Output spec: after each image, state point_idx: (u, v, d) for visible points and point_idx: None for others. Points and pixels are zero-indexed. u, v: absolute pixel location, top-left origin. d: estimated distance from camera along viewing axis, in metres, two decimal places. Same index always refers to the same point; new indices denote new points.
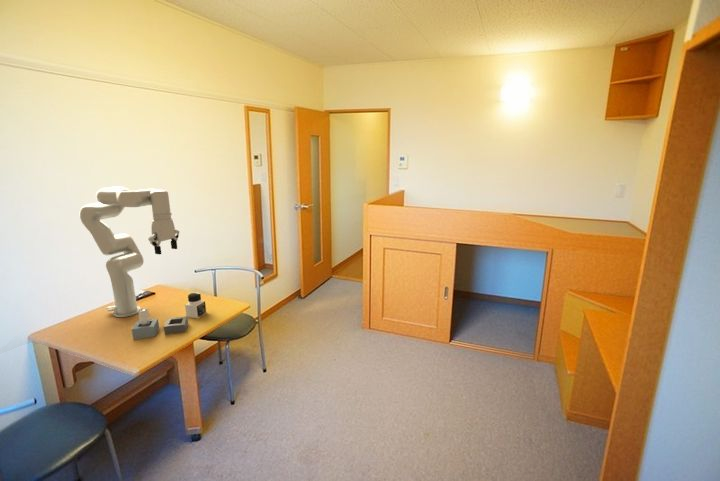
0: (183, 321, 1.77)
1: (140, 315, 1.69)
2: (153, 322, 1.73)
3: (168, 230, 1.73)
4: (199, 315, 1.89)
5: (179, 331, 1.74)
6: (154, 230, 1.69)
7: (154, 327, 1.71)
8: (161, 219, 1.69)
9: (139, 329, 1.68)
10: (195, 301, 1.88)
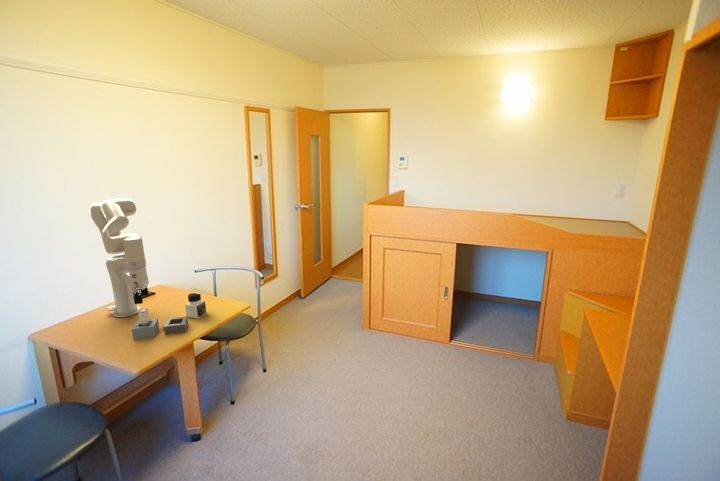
0: (183, 321, 1.77)
1: (140, 315, 1.69)
2: (153, 322, 1.73)
3: None
4: (199, 315, 1.89)
5: (179, 331, 1.74)
6: None
7: (154, 327, 1.71)
8: None
9: (139, 329, 1.68)
10: (195, 301, 1.88)
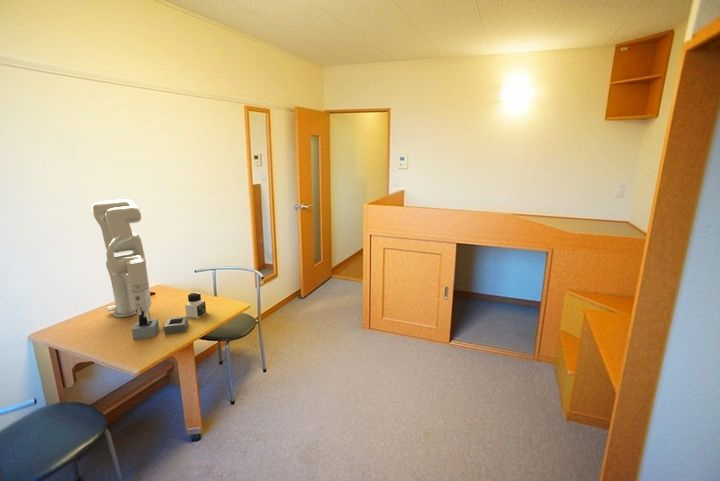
0: (183, 321, 1.77)
1: None
2: (153, 322, 1.73)
3: None
4: (199, 315, 1.89)
5: (179, 331, 1.74)
6: None
7: (154, 327, 1.71)
8: None
9: (139, 329, 1.68)
10: (195, 301, 1.88)
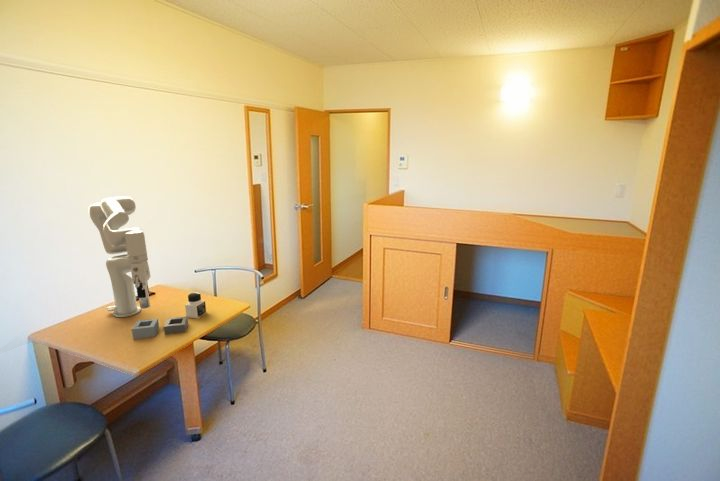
0: (183, 321, 1.77)
1: None
2: (153, 322, 1.73)
3: None
4: (199, 315, 1.89)
5: (179, 331, 1.74)
6: None
7: (154, 327, 1.71)
8: None
9: (139, 329, 1.68)
10: (195, 301, 1.88)
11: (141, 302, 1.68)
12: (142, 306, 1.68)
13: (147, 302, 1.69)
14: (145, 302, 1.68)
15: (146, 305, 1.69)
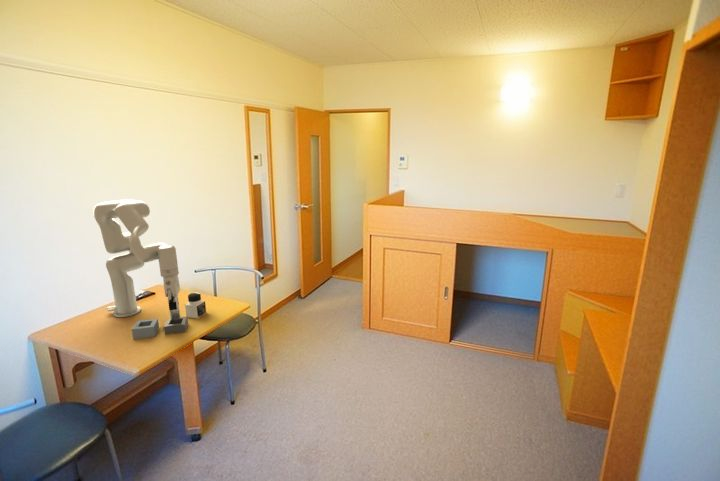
0: (183, 321, 1.77)
1: None
2: (153, 322, 1.73)
3: None
4: (199, 315, 1.89)
5: (179, 331, 1.74)
6: None
7: (154, 327, 1.71)
8: None
9: (139, 329, 1.68)
10: (195, 301, 1.88)
11: (172, 314, 1.74)
12: (173, 318, 1.74)
13: (178, 314, 1.75)
14: (176, 314, 1.74)
15: (176, 317, 1.75)
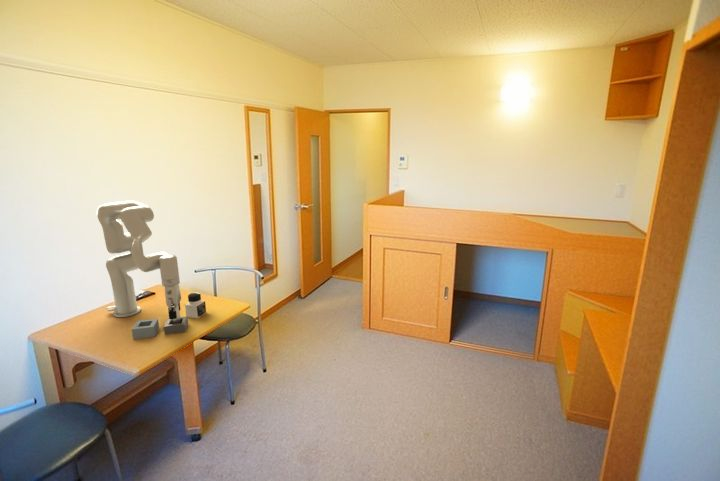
0: (183, 321, 1.77)
1: None
2: (153, 322, 1.73)
3: None
4: (199, 315, 1.89)
5: (179, 331, 1.74)
6: None
7: (154, 327, 1.71)
8: None
9: (139, 329, 1.68)
10: (195, 301, 1.88)
11: None
12: None
13: None
14: None
15: None
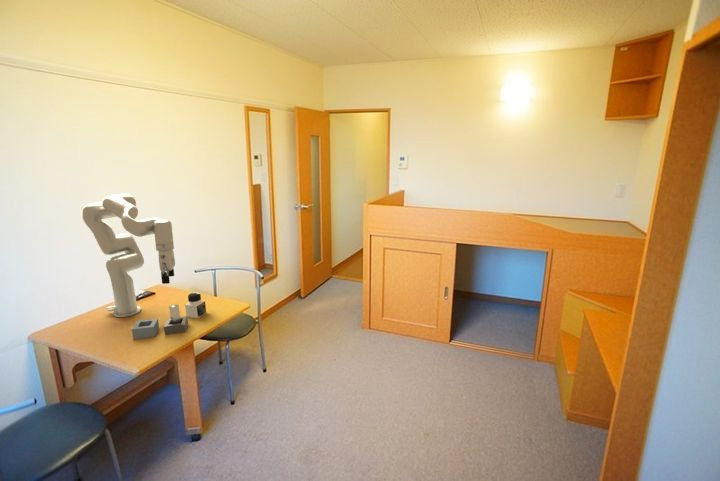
0: (183, 321, 1.77)
1: (171, 311, 1.73)
2: (153, 322, 1.73)
3: None
4: (199, 315, 1.89)
5: (179, 331, 1.74)
6: None
7: (154, 327, 1.71)
8: None
9: (139, 329, 1.68)
10: (195, 301, 1.88)
11: None
12: None
13: None
14: None
15: None
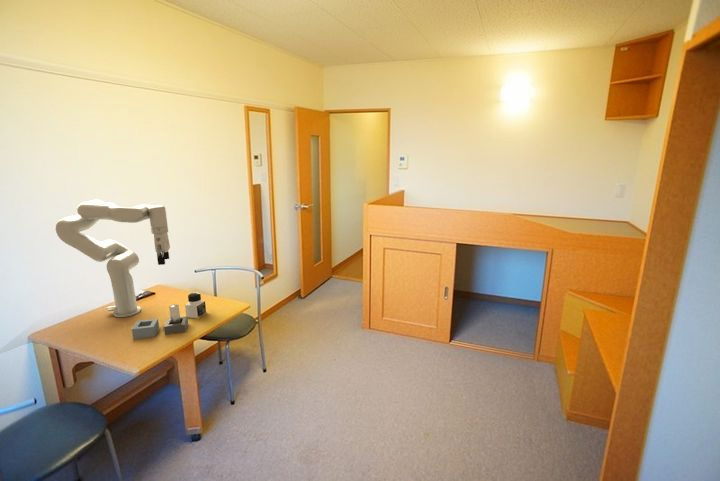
0: (183, 321, 1.77)
1: (171, 311, 1.73)
2: (153, 322, 1.73)
3: None
4: (199, 315, 1.89)
5: (179, 331, 1.74)
6: None
7: (154, 327, 1.71)
8: None
9: (139, 329, 1.68)
10: (195, 301, 1.88)
11: None
12: None
13: None
14: None
15: None
